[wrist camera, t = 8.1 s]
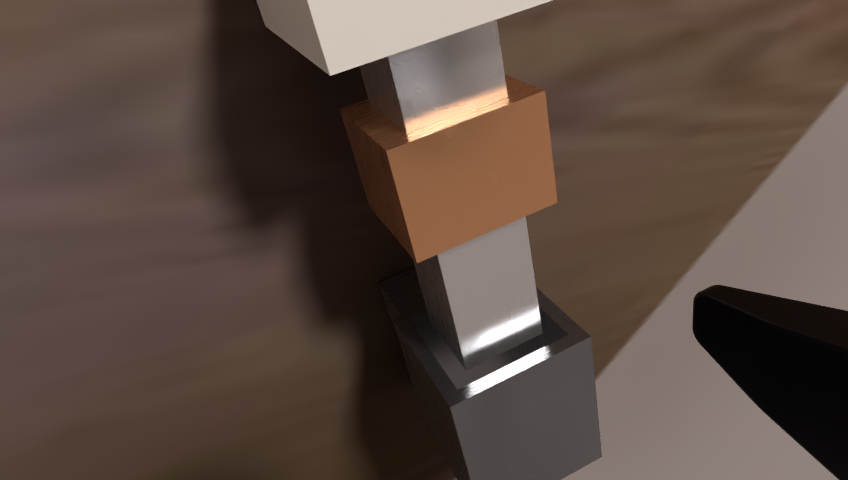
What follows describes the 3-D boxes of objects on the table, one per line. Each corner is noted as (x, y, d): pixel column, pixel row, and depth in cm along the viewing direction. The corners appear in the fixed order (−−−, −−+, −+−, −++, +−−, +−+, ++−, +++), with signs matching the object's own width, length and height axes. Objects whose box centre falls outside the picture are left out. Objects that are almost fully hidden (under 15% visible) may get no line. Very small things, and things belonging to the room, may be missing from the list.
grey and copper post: (510, 275, 21) (571, 332, 18) (405, 322, 20) (452, 392, 17) (441, -123, 14) (519, -137, 11) (282, -80, 13) (322, -82, 10)
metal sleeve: (501, 342, 26) (601, 456, 20) (405, 389, 25) (482, 523, 19) (481, 237, 23) (591, 336, 17) (370, 285, 22) (450, 407, 16)
